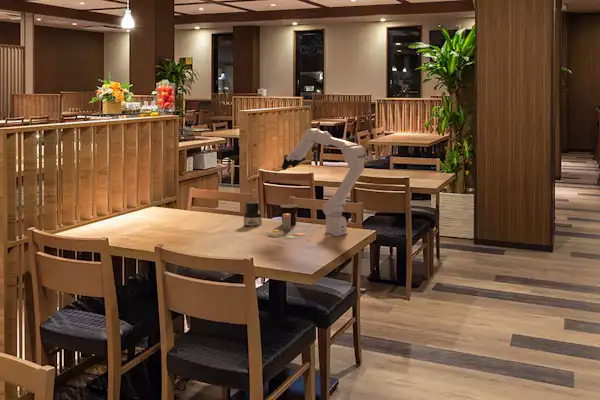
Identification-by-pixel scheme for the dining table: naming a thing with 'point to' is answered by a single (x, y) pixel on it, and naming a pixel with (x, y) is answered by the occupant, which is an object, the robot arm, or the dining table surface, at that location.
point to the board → (287, 234)
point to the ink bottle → (252, 214)
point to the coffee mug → (290, 212)
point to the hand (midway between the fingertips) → (287, 167)
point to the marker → (286, 222)
